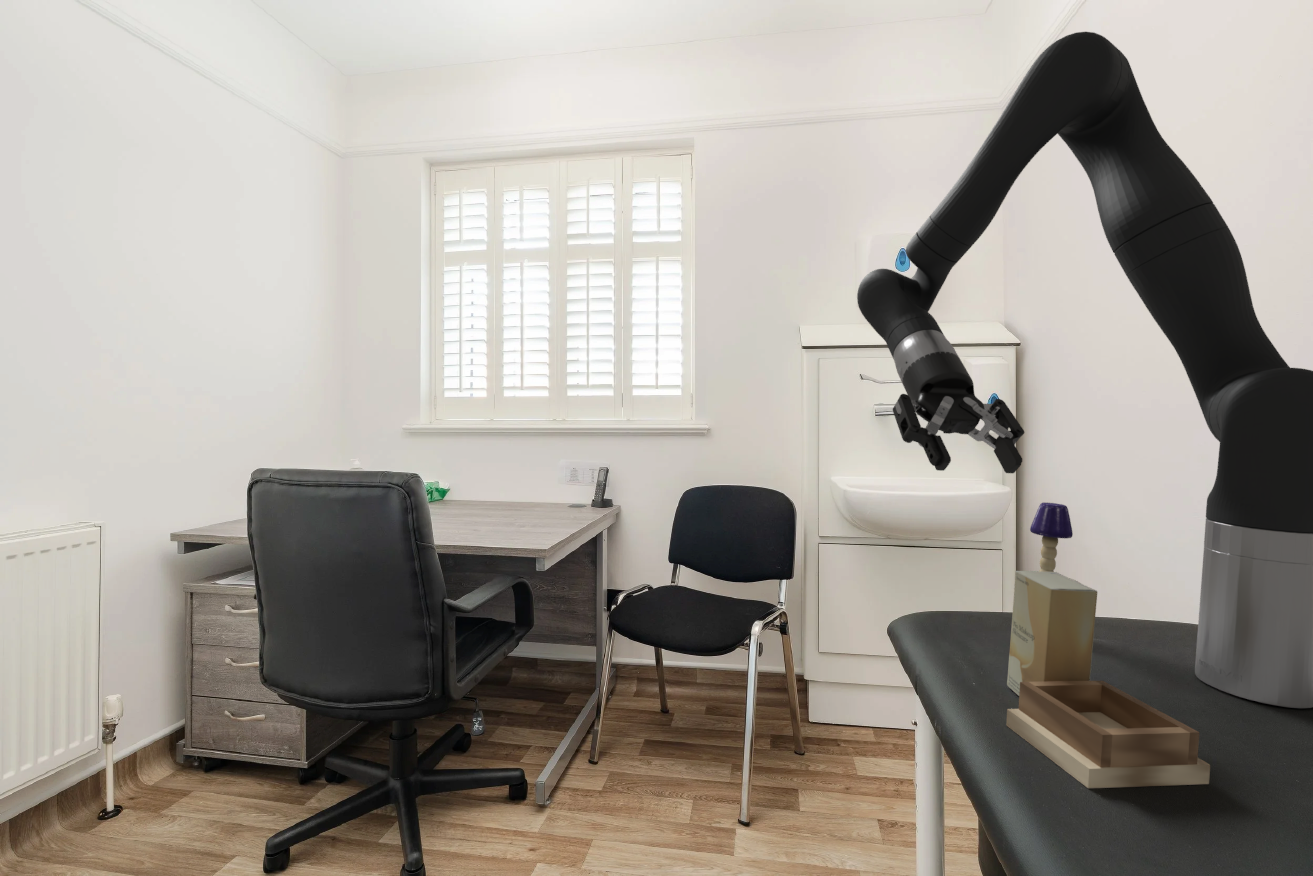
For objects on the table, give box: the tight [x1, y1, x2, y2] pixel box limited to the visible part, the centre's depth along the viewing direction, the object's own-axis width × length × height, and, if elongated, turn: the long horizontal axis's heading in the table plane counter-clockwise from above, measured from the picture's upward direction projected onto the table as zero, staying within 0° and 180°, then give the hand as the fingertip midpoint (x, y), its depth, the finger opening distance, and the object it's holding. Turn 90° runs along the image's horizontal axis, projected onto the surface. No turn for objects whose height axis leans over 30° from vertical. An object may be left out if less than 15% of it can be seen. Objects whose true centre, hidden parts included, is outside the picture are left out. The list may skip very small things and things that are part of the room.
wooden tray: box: [1006, 680, 1211, 789], centre depth 50 cm, size 10×9×4 cm
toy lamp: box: [1029, 502, 1073, 572], centre depth 79 cm, size 5×5×17 cm
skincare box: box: [1006, 570, 1098, 697], centre depth 58 cm, size 6×4×12 cm
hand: (980, 467), depth 69 cm, fingers open, 8 cm apart
